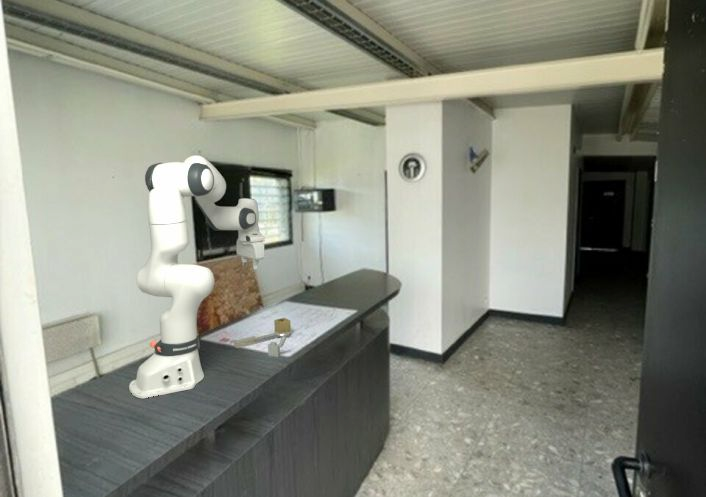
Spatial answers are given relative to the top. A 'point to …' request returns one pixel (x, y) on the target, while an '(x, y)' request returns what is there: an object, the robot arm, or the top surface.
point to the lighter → (275, 347)
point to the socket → (282, 325)
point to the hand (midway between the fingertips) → (250, 267)
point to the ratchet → (258, 339)
